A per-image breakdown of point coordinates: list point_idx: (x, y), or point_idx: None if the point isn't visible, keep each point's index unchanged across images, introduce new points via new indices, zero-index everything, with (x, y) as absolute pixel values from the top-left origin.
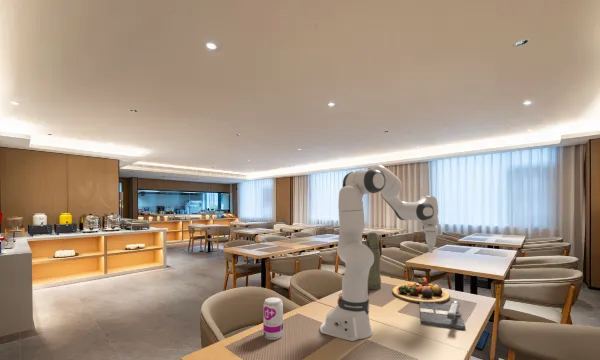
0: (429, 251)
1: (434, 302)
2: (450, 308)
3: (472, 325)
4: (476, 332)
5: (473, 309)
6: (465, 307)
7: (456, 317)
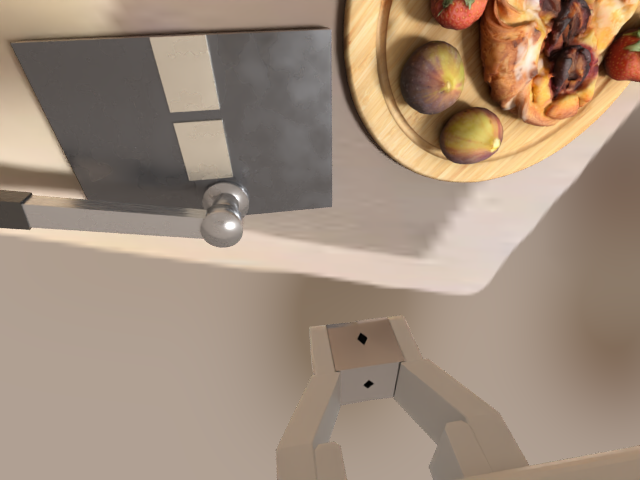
0: (312, 346)
1: (358, 113)
2: (98, 212)
3: (174, 240)
4: (113, 248)
5: (346, 248)
6: (359, 226)
7: (182, 202)
